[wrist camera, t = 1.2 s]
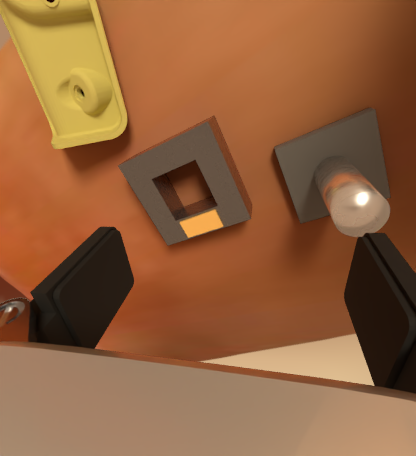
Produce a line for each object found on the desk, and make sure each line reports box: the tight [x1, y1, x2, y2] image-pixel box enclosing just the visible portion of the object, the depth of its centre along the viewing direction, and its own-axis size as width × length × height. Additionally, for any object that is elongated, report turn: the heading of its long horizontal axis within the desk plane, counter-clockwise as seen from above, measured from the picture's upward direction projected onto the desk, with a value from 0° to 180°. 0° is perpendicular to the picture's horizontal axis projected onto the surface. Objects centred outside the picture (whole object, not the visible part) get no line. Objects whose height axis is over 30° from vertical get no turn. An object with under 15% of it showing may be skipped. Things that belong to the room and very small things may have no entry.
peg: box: [314, 156, 390, 237], centre depth 25 cm, size 4×4×10 cm
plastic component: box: [0, 0, 127, 149], centre depth 27 cm, size 20×7×10 cm
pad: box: [274, 108, 391, 223], centre depth 30 cm, size 10×10×2 cm
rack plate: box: [118, 116, 252, 245], centre depth 32 cm, size 12×12×4 cm
